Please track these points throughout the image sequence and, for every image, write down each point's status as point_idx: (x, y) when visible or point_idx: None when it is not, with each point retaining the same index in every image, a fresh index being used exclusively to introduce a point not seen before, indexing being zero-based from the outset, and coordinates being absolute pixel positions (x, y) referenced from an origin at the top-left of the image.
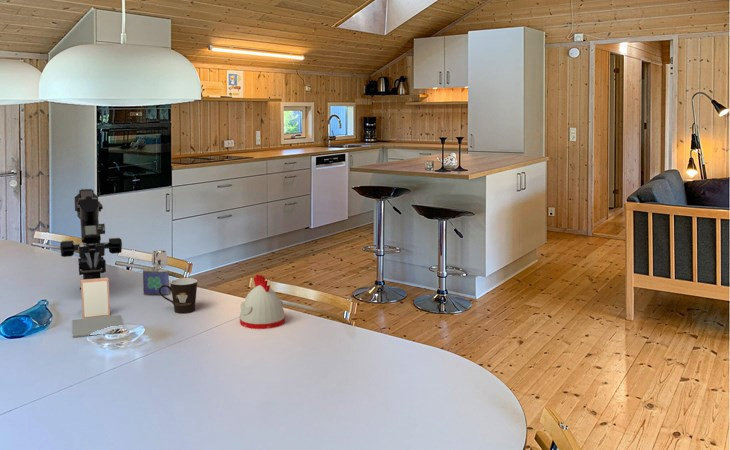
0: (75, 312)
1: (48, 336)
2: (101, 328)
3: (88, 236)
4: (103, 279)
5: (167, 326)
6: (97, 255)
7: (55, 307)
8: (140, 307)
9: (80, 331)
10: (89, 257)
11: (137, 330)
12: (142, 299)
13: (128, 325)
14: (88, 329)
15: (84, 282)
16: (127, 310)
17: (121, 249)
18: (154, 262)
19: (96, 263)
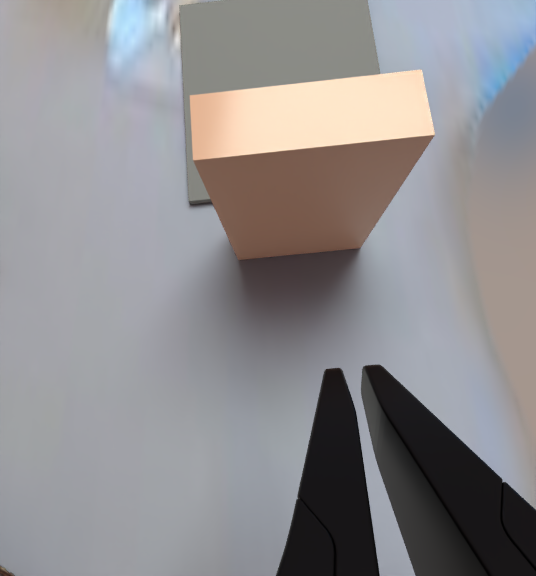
0: (405, 326)
1: (458, 25)
2: (265, 43)
3: None
4: (231, 102)
5: (26, 36)
6: (306, 555)
7: (533, 460)
8: (92, 326)
9: (343, 26)
10: (474, 505)
11: (136, 18)
12: (63, 487)
13: (164, 79)
14: (314, 42)
15: (388, 79)
16: (156, 290)
17: None
18: None
19: (315, 412)
